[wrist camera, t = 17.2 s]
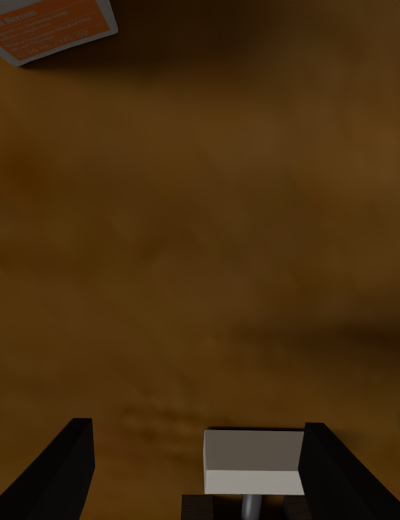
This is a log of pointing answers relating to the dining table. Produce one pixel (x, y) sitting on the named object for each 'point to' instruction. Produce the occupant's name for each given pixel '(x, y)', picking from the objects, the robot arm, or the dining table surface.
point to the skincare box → (51, 26)
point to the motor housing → (201, 515)
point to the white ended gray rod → (252, 465)
